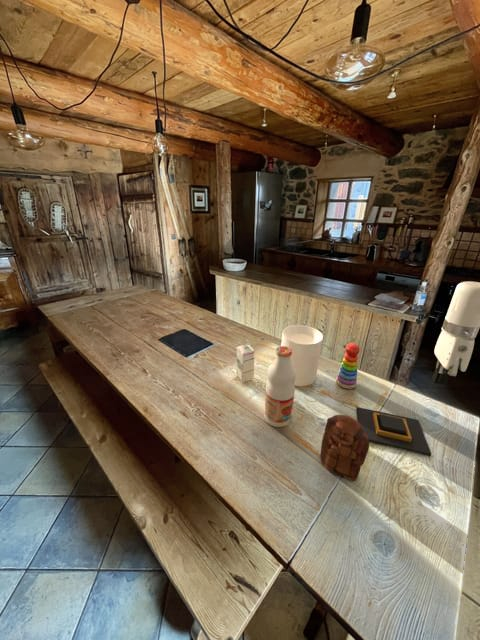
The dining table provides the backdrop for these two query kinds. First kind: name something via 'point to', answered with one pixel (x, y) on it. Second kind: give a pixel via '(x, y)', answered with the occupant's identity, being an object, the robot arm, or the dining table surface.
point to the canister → (303, 351)
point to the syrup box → (245, 362)
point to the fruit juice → (280, 389)
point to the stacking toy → (349, 367)
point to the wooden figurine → (344, 446)
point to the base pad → (409, 441)
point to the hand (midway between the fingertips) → (438, 382)
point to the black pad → (391, 424)
